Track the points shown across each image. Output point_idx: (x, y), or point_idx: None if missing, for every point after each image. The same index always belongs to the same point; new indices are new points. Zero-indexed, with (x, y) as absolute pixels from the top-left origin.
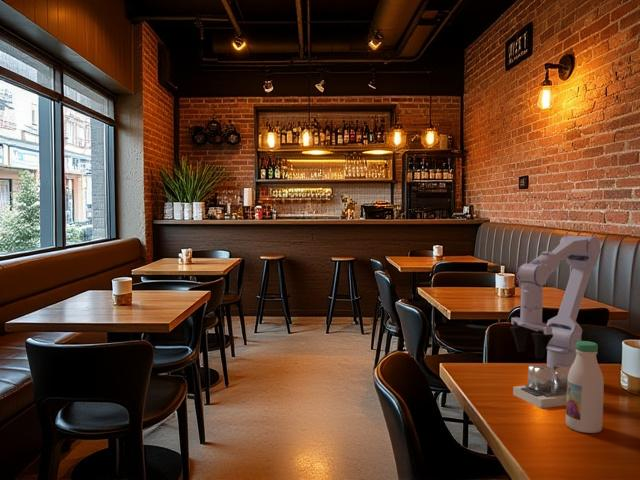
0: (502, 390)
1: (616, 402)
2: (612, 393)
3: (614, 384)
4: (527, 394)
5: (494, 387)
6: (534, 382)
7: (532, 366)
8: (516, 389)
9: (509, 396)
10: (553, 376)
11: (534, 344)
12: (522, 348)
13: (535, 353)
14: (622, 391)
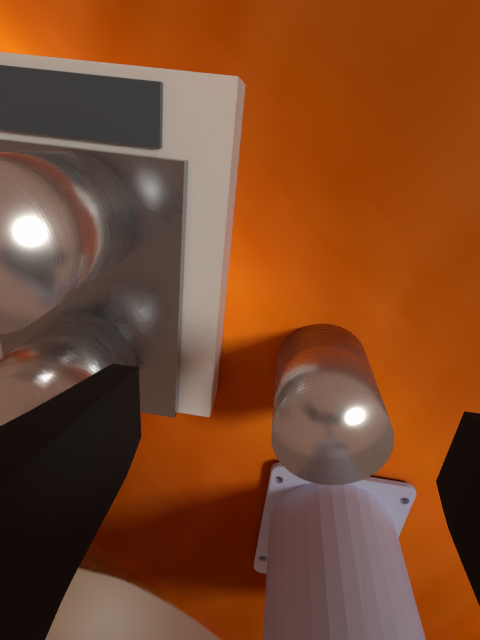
0: (354, 78)
1: None
2: (102, 532)
3: (186, 608)
4: (70, 60)
5: (441, 68)
6: (59, 154)
7: (350, 422)
8: (201, 74)
9: (225, 22)
10: (70, 350)
11: (12, 476)
12: (461, 485)
13: (103, 388)
14: (112, 571)
